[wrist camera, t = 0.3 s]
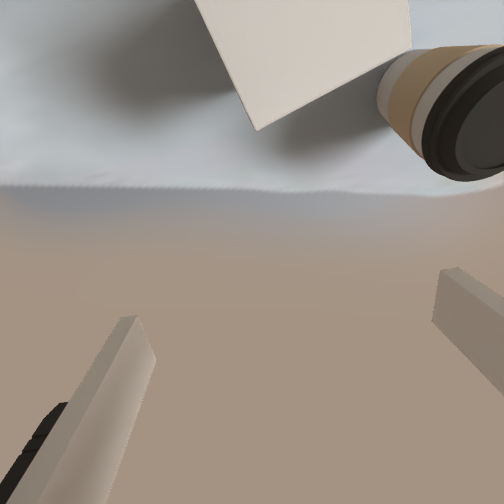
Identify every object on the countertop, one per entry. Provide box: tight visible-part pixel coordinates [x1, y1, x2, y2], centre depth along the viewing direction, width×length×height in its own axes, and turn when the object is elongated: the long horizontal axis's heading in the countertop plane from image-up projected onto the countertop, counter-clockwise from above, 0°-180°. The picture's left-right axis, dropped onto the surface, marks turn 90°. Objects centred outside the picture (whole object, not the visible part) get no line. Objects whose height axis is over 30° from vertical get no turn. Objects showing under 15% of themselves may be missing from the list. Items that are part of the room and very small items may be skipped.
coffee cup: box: [376, 45, 504, 182], centre depth 24 cm, size 9×9×15 cm
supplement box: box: [194, 0, 412, 131], centre depth 19 cm, size 10×9×17 cm
